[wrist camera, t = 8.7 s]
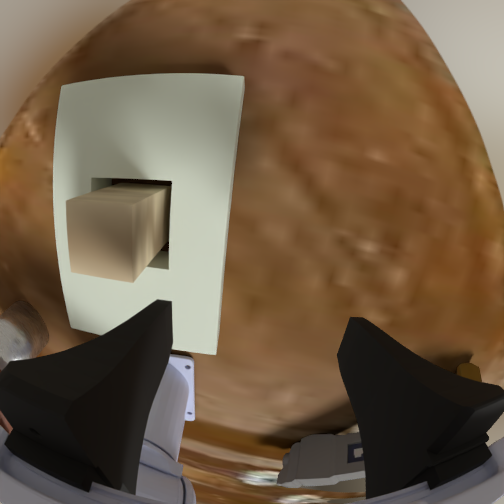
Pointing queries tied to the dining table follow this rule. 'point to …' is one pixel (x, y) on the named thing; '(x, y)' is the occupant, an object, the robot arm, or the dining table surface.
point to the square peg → (117, 229)
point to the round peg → (21, 333)
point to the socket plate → (153, 168)
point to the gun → (334, 453)
